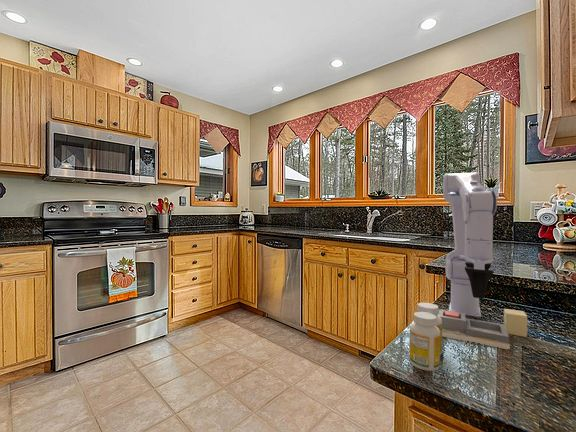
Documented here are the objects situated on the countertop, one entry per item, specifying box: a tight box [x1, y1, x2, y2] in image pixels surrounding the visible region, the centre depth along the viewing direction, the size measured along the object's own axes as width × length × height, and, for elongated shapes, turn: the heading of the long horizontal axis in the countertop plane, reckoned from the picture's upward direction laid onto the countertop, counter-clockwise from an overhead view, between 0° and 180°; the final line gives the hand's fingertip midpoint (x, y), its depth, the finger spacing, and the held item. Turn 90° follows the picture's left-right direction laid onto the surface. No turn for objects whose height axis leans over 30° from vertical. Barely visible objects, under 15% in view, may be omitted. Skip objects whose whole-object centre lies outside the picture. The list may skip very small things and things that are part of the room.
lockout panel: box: [437, 308, 511, 350], centre depth 68 cm, size 10×14×4 cm
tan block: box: [503, 308, 528, 338], centre depth 70 cm, size 4×4×5 cm
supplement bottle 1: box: [417, 302, 443, 356], centre depth 60 cm, size 5×5×10 cm
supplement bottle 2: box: [409, 311, 441, 372], centre depth 55 cm, size 5×5×10 cm
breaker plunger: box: [445, 310, 459, 318], centre depth 70 cm, size 3×3×3 cm
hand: (477, 293), depth 70 cm, fingers open, 7 cm apart
